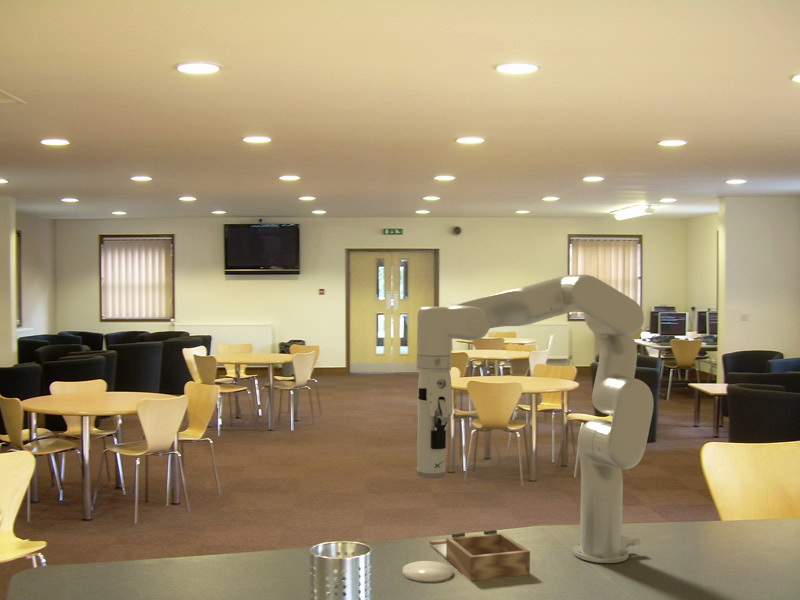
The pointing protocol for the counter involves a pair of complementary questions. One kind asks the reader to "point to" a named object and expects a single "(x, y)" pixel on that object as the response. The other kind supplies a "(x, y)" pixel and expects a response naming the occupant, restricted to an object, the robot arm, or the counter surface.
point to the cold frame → (484, 555)
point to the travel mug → (428, 444)
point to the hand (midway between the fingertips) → (432, 445)
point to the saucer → (427, 571)
